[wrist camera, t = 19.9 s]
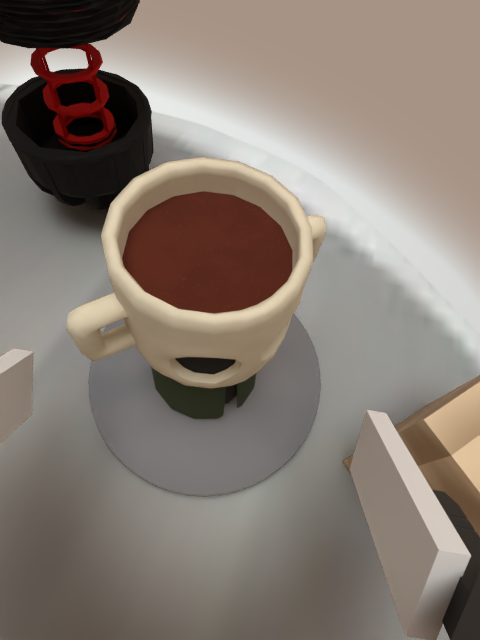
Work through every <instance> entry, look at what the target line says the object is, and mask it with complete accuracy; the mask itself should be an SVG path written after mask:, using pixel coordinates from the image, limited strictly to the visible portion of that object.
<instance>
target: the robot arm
mask: <svg viewBox="0 0 480 640" xmlns="http://www.w3.org/2000/svg"><path fill="white" fill-rule="evenodd" d="M32 391H33V352H31V351H25V350H19V349H12V350H11V351H9V352H7V353H6V354H4V355H2V356H1V357H0V444H1V443H2V442H3V441H4V440H5V439H6V438H7V437H8V436H10V435H11V434H12V433H13V432H14V431H15V430H16V429H17V428H18V427H19V426H20V425H21V424H22V423H23V422H24V421H26V420H27V419H28V418H29V417H30V416H31V415H32ZM350 472H351V475H352V478H353V481H354V484H355V487H356V490H357V493H358V496H359V499H360V502H361V505H362V508H363V511H364V514H365V517H366V520H367V523H368V526H369V529H370V532H371V535H372V538H373V541H374V544H375V547H376V550H377V553H378V556H379V559H380V562H381V564H382V567H383V570H384V573H385V576H386V579H387V582H388V585H389V588H390V591H391V594H392V597H393V600H394V603H395V606H396V609H397V612H398V615H399V618H400V621H401V624H402V627H403V630H404V633H405V636H409V637H415V638H421V639H426V640H436V639H437V636H438V634H439V631H440V629H441V627H442V624H444V626H445V629H446V631H447V633H448V636H449V638H450V640H480V537H479V535H478V534H477V532H475V531H474V528H473V526H472V525H471V523H470V522H469V521H468V520H467V517H466V515H465V514H464V512H463V511H462V509H461V508H460V506H459V505H458V504H457V503H456V502H455V501H454V500H453V499H452V498H451V497H450V496H448V495H447V494H446V493H445V492H443V491H437V490H432V489H431V488H430V486H429V484H428V483H427V481H426V479H425V477H424V476H423V474H422V472H421V471H420V469H419V467H418V466H417V464H416V462H415V461H414V459H413V457H412V456H411V454H410V452H409V451H408V449H407V447H406V446H405V444H404V442H403V441H402V439H401V437H400V436H399V434H398V432H397V431H396V429H395V427H394V426H393V424H392V422H391V421H390V419H389V417H388V416H387V414H386V413H382V412H376V411H371V410H366V414H365V417H364V421H363V424H362V428H361V431H360V435H359V438H358V442H357V445H356V449H355V452H354V455H353V459H352V462H351V466H350Z"/></svg>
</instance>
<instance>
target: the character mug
mask: <svg viewBox="0 0 480 640" xmlns="http://www.w3.org/2000/svg"><path fill="white" fill-rule="evenodd" d="M325 234H326V223H325V218H324V217H321V216H318V215H312V216H308V217H307V216H306V214H305V212H304V210H303V208H302V206H301V204H300V201H299V199H298V198H297V197H296V196H295V195H294V194H292V193H291V192H290V191H289V190H288V189H287V188H285V187H284V186H283V185H282V184H281V183H280V182H279V181H277V180H276V179H275V178H274V177H273V176H271V175H269V174H267V173H264V172H262V171H260V170H257V169H255V168H253V167H250V166H248V165H246V164H243V163H241V162H238V161H230V160H223V159H215V158H208V157H197V158H191V159H184V160H177V161H170V162H165V163H163V164H161V165H159V166H157V167H155V168H153V169H151V170H149V171H147V172H145V173H143V174H141V175H139V176H137V177H135V178H133V179H132V180H131V182H130V183H129V184H128V185H127V186H126V187H125V188H124V189H123V190H122V191H121V193H120V194H119V195H118V196H117V197H116V198H115V199H114V200H113V201H112V202H111V204H110V207H109V210H108V214H107V217H106V220H105V224H104V227H103V230H102V234H101V239H102V245H103V249H104V254H105V259H106V263H107V268H108V272H109V277H110V281H111V284H112V287H113V289H114V292H115V293H112V294H110V295H107V296H105V297H102V298H100V299H97V300H95V301H92V302H90V303H87V304H85V305H82V306H79V307H78V308H76V309H74V310H73V311H71V312H70V313H68V319H67V329H66V330H67V331H68V333H69V334H70V336H71V337H72V339H73V340H74V342H75V344H76V345H77V347H78V348H79V350H80V351H81V353H82V354H83V355H84V356H86V357H87V358H88V359H90V360H93V361H97V360H100V359H104V358H107V357H109V356H111V355H114V354H116V353H118V352H120V351H123V350H125V349H127V348H129V347H132V346H135V347H136V349H137V350H138V351H139V352H140V353H141V355H142V356H143V357H144V358H145V359H146V361H147V362H148V363H149V364H150V365H151V369H152V374H153V379H154V384H155V388H156V390H157V392H158V393H159V394H160V395H161V397H162V398H163V399H164V400H165V402H166V403H167V404H168V405H169V407H170V408H171V409H173V410H175V411H177V412H179V413H182V414H184V415H186V416H188V417H191V418H193V419H218V418H220V417H222V416H223V413H224V406H225V404H227V403H229V402H230V401H231V400H232V399H233V398H234V397H235V396H236V395H237V408H239V407H240V406H242V405H243V404H244V402H245V401H246V399H247V398H248V396H249V395H250V393H251V392H252V390H253V389H254V386H255V379H256V373H257V372H258V371H259V370H260V369H261V368H262V367H263V366H264V365H265V364H266V363H267V362H269V361H270V360H271V359H272V358H273V357H274V355H275V353H276V352H277V350H278V348H279V346H280V345H281V343H282V341H283V339H284V338H285V335H286V332H287V330H288V327H289V324H290V321H291V317H292V315H293V314H294V312H295V310H296V308H297V306H298V304H299V303H300V299H301V296H302V292H303V288H304V285H305V283H306V280H307V278H308V275H309V273H310V271H311V267H312V263H313V262H314V260H315V258H316V255H317V253H318V251H319V248H320V246H321V244H322V241H323V239H324V237H325ZM122 319H124V321H125V324H123V325H121V326H118V327H116V328H113V329H111V330H109V331H106V332H104V333H101V331H100V328H103V327H105V326H107V325H110V324H112V323H115V322H117V321H120V320H122Z"/></svg>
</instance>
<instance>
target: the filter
mask: <svg viewBox="0 0 480 640" xmlns="http://www.w3.org/2000/svg"><path fill="white" fill-rule="evenodd" d="M139 2H140V0H0V41H1V42H3V43H7V44H11V45H17V46H21V47H26V48H36V50H35V51H34V52H33V53H32V55H31V66H32V68H33V70H34V72H35V73H36V74H37V75H38V77H34V78H31V79H30V80H28V81H27V82H25V83H24V84H22V85H20V86H19V87H18V88H17V89H16V90H15V91H14V92H13V93H12V95H11V96H10V97H9V98H8V99H7V101H6V103H5V106H4V108H3V111H2V125H3V127H4V130H5V132H6V134H7V136H8V138H9V140H10V142H11V143H12V145H13V147H14V149H15V151H16V152H17V154H18V156H19V158H20V160H21V162H22V164H23V166H24V167H25V169H26V171H27V173H28V175H29V177H30V178H31V179H32V180H33V181H34V182H35V184H36V185H37V186H38V187H39V188H40V189H41V190H42V191H45V192H47V193H49V194H52V195H54V196H55V197H56V198H57V199H58V200H59V201H60V202H62V203H64V204H67V205H71V206H78V205H81V204H83V203H85V202H87V204H88V205H89V207H90V208H91V209H92V208H97V209H106V208H109V207H110V204H111V202H112V201H113V200H114V199H115V198H116V197H117V196H118V195H119V194H120V193H121V191H122V190H123V189H124V188H125V187H126V186H127V185H128V184H129V183H130V182H131V180H132V179H133V178H135V177H137V176H139V175H141V174H143V173H145V172H147V171H149V164H150V161H151V158H152V154H153V137H152V123H151V113H152V111H151V108H150V105H149V102H148V99H147V97H146V96H145V95H144V94H143V92H142V91H141V90H140V89H139V87H138V86H137V85H135V84H133V83H131V82H130V81H128V80H126V79H124V78H123V77H121V76H119V75H117V74H113V73H109V72H105V71H101V70H99V68H100V66H101V64H102V63H103V61H102V58H101V54H100V52H99V51H98V50H97V49H96V48H94V47H93V46H92V45H91V44H88V43H92V42H96V41H100V40H104V39H107V38H108V37H110V36H111V35H113V34H114V33H116V32H118V31H119V30H121V29H122V28H124V27H125V26H127V25H128V24H130V23H131V21H132V18H133V16H134V14H135V11H136V9H137V7H138V4H139ZM60 48H73V49H81V50H83V51H85V52H86V56H87V60H88V64H89V66H88V68H87V69H66V70H59V71H55V72H50V71H49V68H48V65H47V62H46V59H45V55H46V54H47V53H48V52H51V51H53V50H57V49H60ZM90 55H91V56H90ZM91 57H92V60H91ZM42 58H43V59H42ZM43 61H44V62H43ZM44 64H45V65H44ZM45 67H46V68H45Z"/></svg>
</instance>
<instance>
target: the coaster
mask: <svg viewBox="0 0 480 640" xmlns="http://www.w3.org/2000/svg"><path fill="white" fill-rule="evenodd" d="M123 324H125V321H124V319H122V320H120V321H117V322H115V323H112V324H110V325H107V327H106V328H105V330H104V332H106V331H109V330H111V329H113V328H116V327H118V326H121V325H123ZM104 332H103V333H104ZM320 388H321V383H320V369H319V363H318V358H317V355H316V352H315V349H314V346H313V344H312V341H311V339H310V337H309V335H308V333H307V331H306V330H305V328H304V327H303V325H302V323H301V322H300V321H299V319H298V318H297V317H296V316H295V315H294V314H293V315H292V317H291V321H290V324H289V327H288V330H287V332H286V335H285V338H284V339H283V341H282V343H281V345H280V346H279V348H278V350H277V352H276V353H275V355H274V357H273V358H272V359H271V360H270V361H269V362H267V363H266V364H265V365H264V366H263V367H262V368H261V369H260V370H259V371H258V372H257V373H256V379H255V386H254V389H253V390H252V392H251V393H250V395H249V396H248V398H247V399H246V401H245V402H244V404H243V405H242V406H240V407H239V408H237V395H236V396H235V397H234V398H233V399H232V400H231V401H230V402H229V403H227V404H225V406H224V413H223V416H222V417H220V418H218V419H193V418H191V417H188V416H186V415H184V414H182V413H179V412H177V411H175V410H173V409H171V408H170V407H169V405H168V404H167V403H166V402H165V400H164V399H163V398H162V397H161V395H160V394H159V393H158V392H157V390H156V388H155V384H154V379H153V374H152V369H151V365H150V364H149V363H148V362H147V361H146V359H145V358H144V357H143V356H142V355H141V353H140V352H139V351H138V350H137V349H136V347H135V346H132V347H129V348H127V349H125V350H123V351H120V352H118V353H116V354H114V355H111V356H109V357H107V358H104V359H100V360H97V361H93V360H92V362H91V366H90V374H89V398H90V404H91V409H92V413H93V416H94V419H95V422H96V425H97V427H98V429H99V431H100V433H101V435H102V437H103V439H104V441H105V442H106V444H107V445H108V446H109V448H110V449H111V450H112V452H113V453H114V454H115V455H116V456H117V457H118V458H119V459H120V460H121V461H122V462H123V463H124V464H125V466H127V467H128V468H129V469H130V470H131V471H133V472H134V473H135V474H137V475H138V476H139V477H141V478H142V479H144V480H146V481H148V482H149V483H151V484H153V485H155V486H157V487H160V488H162V489H165V490H168V491H171V492H175V493H179V494H184V495H191V496H216V495H223V494H228V493H232V492H237V491H239V490H242V489H245V488H248V487H250V486H252V485H254V484H256V483H258V482H260V481H262V480H264V479H265V478H267V477H268V476H270V475H271V474H272V473H274V472H275V471H276V470H278V469H279V468H280V467H281V466H282V465H283V464H284V463H285V462H287V461H288V460H289V459H290V458H291V457H292V456H293V455H294V453H295V452H296V451H297V449H298V448H299V447H300V445H301V444H302V443H303V441H304V439H305V438H306V436H307V434H308V432H309V431H310V429H311V426H312V424H313V421H314V419H315V416H316V412H317V408H318V404H319V398H320Z"/></svg>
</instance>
